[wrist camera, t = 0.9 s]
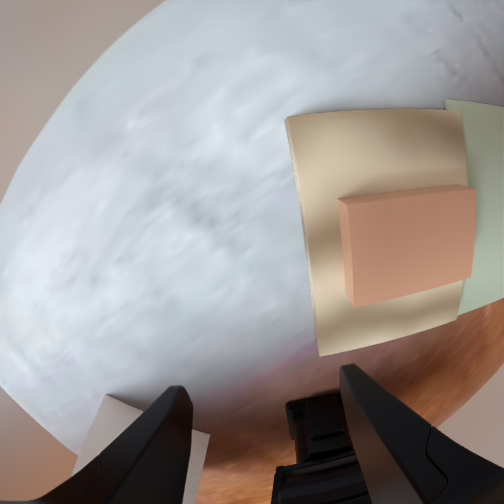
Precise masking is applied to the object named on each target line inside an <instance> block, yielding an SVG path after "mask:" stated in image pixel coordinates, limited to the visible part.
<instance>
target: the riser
mask: <svg viewBox="0 0 504 504" xmlns="http://www.w3.org/2000/svg"><path fill="white" fill-rule="evenodd" d="M285 125H286V131H287V136H288V141H289V146H290V152H291V158H292V163H293V169H294V175H295V181H296V187H297V193H298V199H299V206H300V212H301V219H302V226H303V233H304V240H305V248H306V255H307V263H308V271H309V280H310V288H311V297H312V307H313V317H314V327H315V338H316V343H317V347H318V351H319V354H320V357H321V356H326V355H331V354H336V353H340V352H345V351H350V350H354V349H358V348H363V347H367V346H371V345H375V344H379V343H383V342H386V341H390V340H394V339H397V338H401V337H405V336H408V335H411V334H415V333H418V332H421V331H424V330H428V329H431V328H434V327H437V326H440V325H443V324H446V323H449V322H451V321H454V320H457V315H458V310H459V304H460V299H461V292H462V285H463V280H461V281H458V282H454V283H451V284H447V285H444V286H440V287H437V288H433V289H430V290H426V291H422V292H418V293H415V294H411V295H407V296H403V297H399V298H395V299H391V300H386V301H382V302H378V303H374V304H369V305H365V306H360V307H355V308H354V307H353V305H352V303H351V302H350V300H349V298H348V296H347V295H346V293H345V280H344V265H343V252H342V240H341V229H340V220H339V211H338V202H337V199H341V198H348V197H355V196H362V195H369V194H377V193H384V192H392V191H400V190H408V189H417V188H425V187H434V186H443V185H453V184H460V185H463V186H467V187H468V181H467V164H466V152H465V143H464V135H463V127H462V121H461V114H460V111H456V110H440V109H364V110H347V111H335V112H324V113H314V114H305V115H297V116H290V117H287V118H286V120H285Z"/></svg>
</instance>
